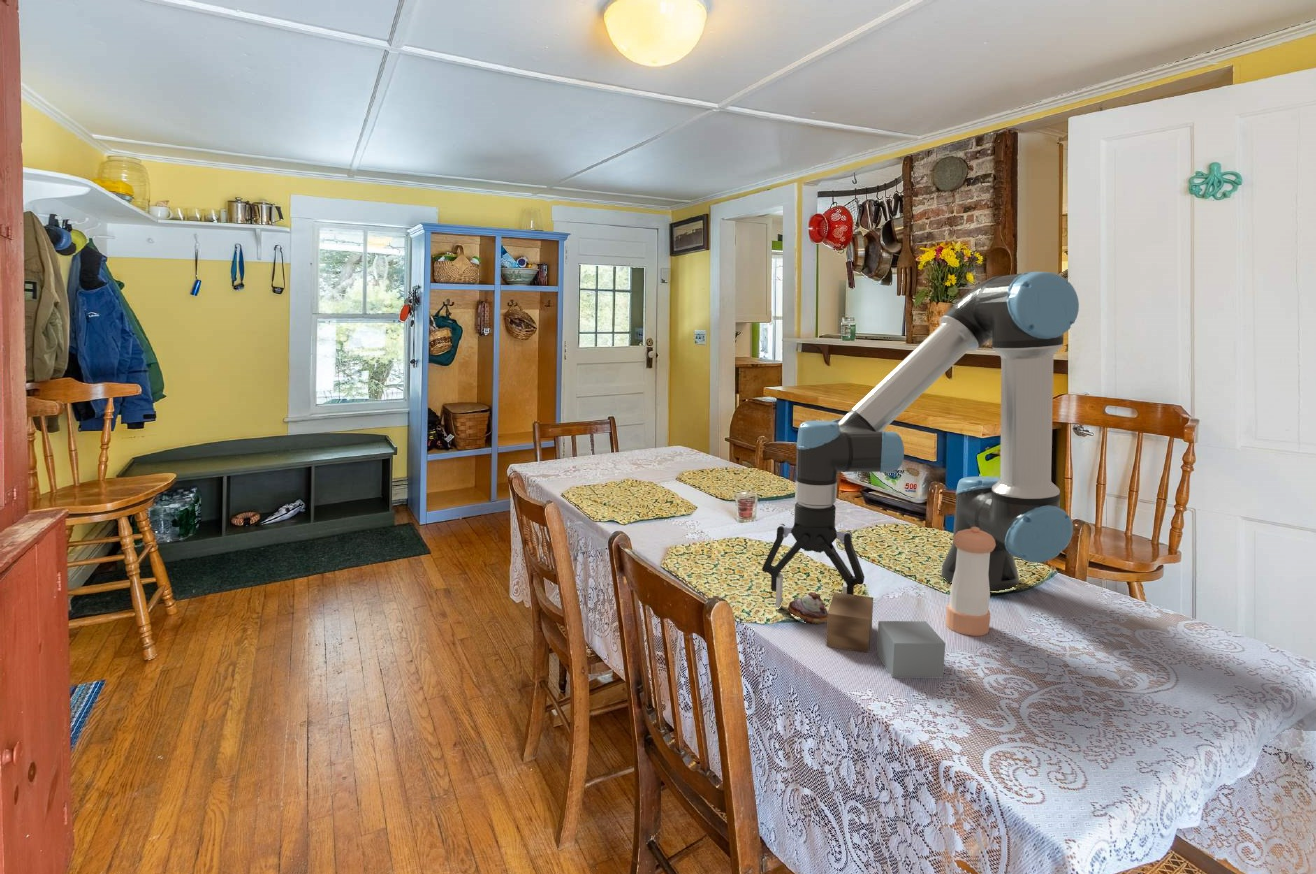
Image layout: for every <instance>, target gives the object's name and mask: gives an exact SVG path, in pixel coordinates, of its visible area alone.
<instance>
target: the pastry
mask: <svg viewBox="0 0 1316 874" xmlns="http://www.w3.org/2000/svg"><path fill="white" fill-rule="evenodd" d="M788 610H789V611H788ZM787 611H788V613H789V612H790V613H791V614H793V615H795V616H797V617H800V618H801V619H803V620H804V622H806V623H805V624H807V625H820V624H824V623H827V616H828V613H827V612H828V610H827V608H826V603H824V601H823V599H822V598H821V595H820V593H817V592H813V591H812V592H809V593H808V594H807V595H804V596H803V597H800V598H799V597H798V598H796V599H794V600H791V602H789V603H788V606H787ZM790 613H789V614H790Z"/></svg>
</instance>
